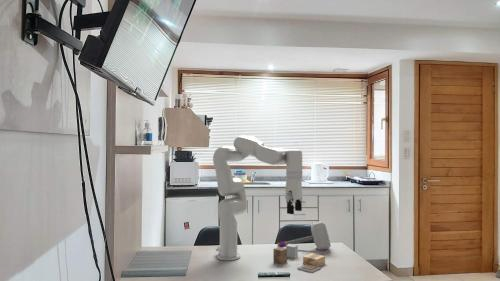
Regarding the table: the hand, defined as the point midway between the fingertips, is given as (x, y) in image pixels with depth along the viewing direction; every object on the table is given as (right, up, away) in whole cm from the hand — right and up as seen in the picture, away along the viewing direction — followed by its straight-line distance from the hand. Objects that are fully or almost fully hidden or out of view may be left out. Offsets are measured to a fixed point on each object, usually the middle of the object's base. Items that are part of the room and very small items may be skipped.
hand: (294, 212), depth 169 cm
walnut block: (-5, -29, +17) cm, 35 cm away
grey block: (+2, -30, +28) cm, 41 cm away
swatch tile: (+8, -29, +7) cm, 31 cm away
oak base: (+12, -30, +15) cm, 35 cm away
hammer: (+11, -31, +44) cm, 54 cm away
